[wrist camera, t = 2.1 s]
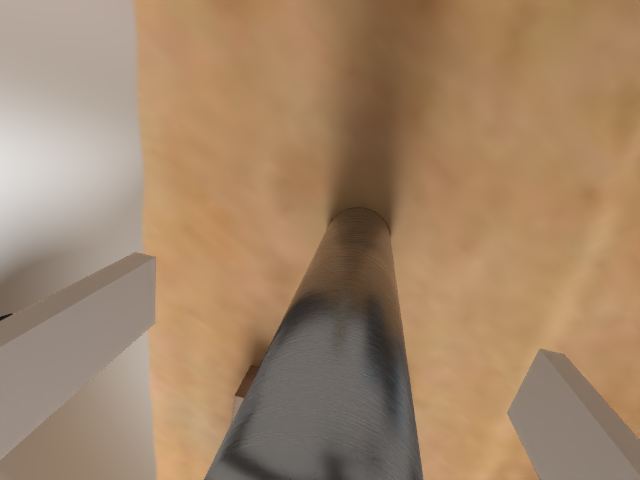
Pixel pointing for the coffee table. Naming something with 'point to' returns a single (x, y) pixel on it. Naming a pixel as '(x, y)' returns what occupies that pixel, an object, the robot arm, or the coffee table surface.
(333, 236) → the metal peg
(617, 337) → the coffee table surface
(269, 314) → the coffee table surface
